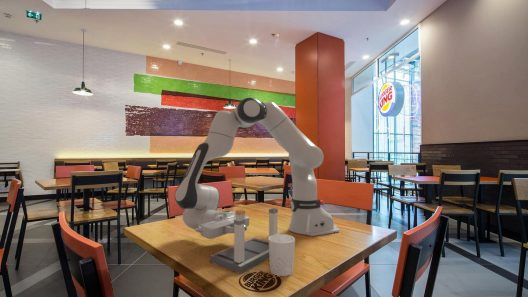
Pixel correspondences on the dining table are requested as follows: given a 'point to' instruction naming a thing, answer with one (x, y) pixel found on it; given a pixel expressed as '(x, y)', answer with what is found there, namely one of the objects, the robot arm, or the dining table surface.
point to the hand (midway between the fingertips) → (242, 229)
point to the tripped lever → (240, 216)
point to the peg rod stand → (245, 247)
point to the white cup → (281, 254)
